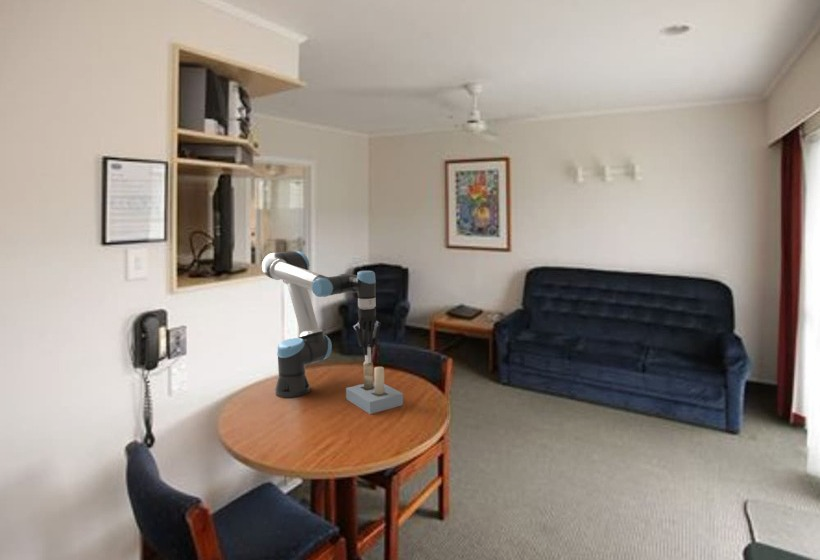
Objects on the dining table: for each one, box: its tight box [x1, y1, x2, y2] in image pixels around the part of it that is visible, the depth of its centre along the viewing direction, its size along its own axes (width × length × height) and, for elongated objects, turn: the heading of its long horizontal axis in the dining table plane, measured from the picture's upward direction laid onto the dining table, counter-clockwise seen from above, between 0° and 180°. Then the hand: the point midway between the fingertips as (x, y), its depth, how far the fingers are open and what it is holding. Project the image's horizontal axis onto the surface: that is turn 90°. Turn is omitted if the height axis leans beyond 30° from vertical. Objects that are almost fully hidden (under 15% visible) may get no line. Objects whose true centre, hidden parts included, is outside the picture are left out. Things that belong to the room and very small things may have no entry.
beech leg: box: [362, 361, 374, 391], centre depth 207 cm, size 4×4×16 cm
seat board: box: [345, 366, 404, 415], centre depth 203 cm, size 20×16×16 cm
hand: (368, 361), depth 206 cm, fingers closed
